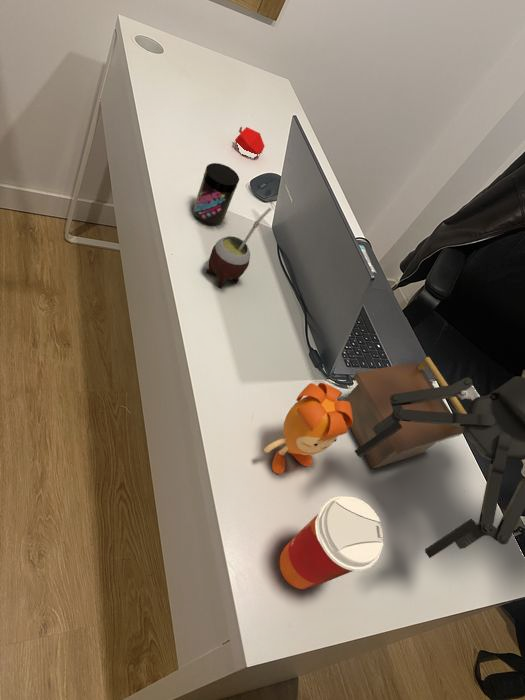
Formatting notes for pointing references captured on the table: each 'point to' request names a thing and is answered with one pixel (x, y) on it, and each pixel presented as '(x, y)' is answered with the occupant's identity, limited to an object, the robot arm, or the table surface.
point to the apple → (250, 140)
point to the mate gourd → (231, 256)
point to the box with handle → (375, 406)
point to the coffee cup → (333, 544)
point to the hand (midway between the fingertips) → (390, 502)
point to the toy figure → (312, 425)
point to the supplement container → (215, 193)
